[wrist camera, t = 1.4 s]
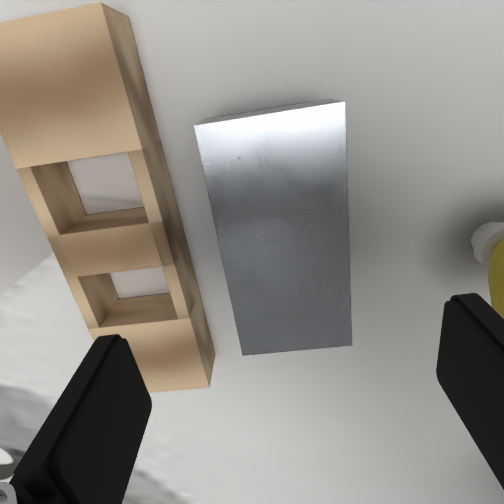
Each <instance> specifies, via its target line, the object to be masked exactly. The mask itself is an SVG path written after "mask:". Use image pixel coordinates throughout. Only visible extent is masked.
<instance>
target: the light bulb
mask: <svg viewBox="0 0 504 504" xmlns="http://www.w3.org/2000/svg"><path fill="white" fill-rule="evenodd" d="M471 245H472V248H473V249H474V255H475V258H476V259H477V260H478V261H479V262H480V263H481V264H482V265H484V266H485V267H486V268H487V269H489V275H488V282H489V289H490V296H491V303H492V306H493V309H494V310H495V311H496V312H497V313H498V314H499V315H500V316H501V317H502V318H503V319H504V222H495V221H492V222H487V223H485V224H483V225H481V226H479V227H478V228H477V229H476V230H475V231H474V233H473V234H472V237H471Z"/></svg>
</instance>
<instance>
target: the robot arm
mask: <svg viewBox="0 0 504 504" xmlns="http://www.w3.org/2000/svg"><path fill="white" fill-rule="evenodd" d="M436 373H437V378H438V381H439V383H440V385H441V387H442V388H443V390H444V392H445V393H446V395H447V397H448V398H449V400H450V402H451V403H452V405H453V407H454V408H455V410H456V411H457V413H458V415H459V416H460V418H461V420H462V421H463V423H464V425H465V426H466V428H467V430H468V431H469V433H470V435H471V436H472V438H473V440H474V441H475V443H476V445H477V446H478V448H479V450H480V451H481V453H482V454H483V456H484V458H485V459H486V461H487V463H488V464H489V466H490V468H491V469H492V471H493V473H494V474H495V476H496V478H497V479H498V481H499V483H500V484H501V486H502V488H503V489H504V319H503V318H502V317H501V316H500V315H499V314H498V313H497V312H496V311H495V310H494V309H493V308H492V307H491V306H490V305H489V304H488V303H487V302H486V301H485V300H484V299H483V298H482V297H480V296H479V295H478V294H476V293H469V294H461V295H454V296H452V297H451V299H450V301H447V302H446V303H445V305H444V312H443V320H442V328H441V336H440V344H439V352H438V360H437V368H436ZM151 408H152V401H151V397H150V395H149V392H148V390H147V388H146V385H145V383H144V380H143V378H142V375H141V373H140V370H139V368H138V365H137V363H136V360H135V358H134V356H133V353H132V351H131V348H130V346H129V343H128V341H127V339H125V338H122V337H121V336H120V335H119V334H112V335H104V336H99V337H97V338H96V340H95V341H94V343H93V345H92V346H91V348H90V349H89V351H88V353H87V354H86V356H85V357H84V359H83V361H82V362H81V364H80V366H79V367H78V369H77V370H76V372H75V374H74V375H73V377H72V378H71V380H70V382H69V383H68V385H67V387H66V388H65V390H64V391H63V393H62V395H61V396H60V398H59V399H58V401H57V403H56V404H55V406H54V408H53V409H52V411H51V412H50V414H49V416H48V417H47V419H46V420H45V422H44V424H43V425H42V427H41V429H40V430H39V432H38V433H37V435H36V437H35V438H34V440H33V441H32V443H31V445H30V446H29V448H28V450H27V451H26V453H25V454H24V456H23V458H22V459H21V461H20V462H19V464H18V466H17V467H16V469H15V471H14V473H15V474H14V476H13V477H12V479H11V481H10V482H9V483H7V482H0V504H122V501H123V498H124V495H125V492H126V489H127V485H128V482H129V479H130V476H131V473H132V470H133V466H134V463H135V460H136V457H137V454H138V451H139V448H140V444H141V441H142V438H143V435H144V432H145V429H146V426H147V422H148V419H149V416H150V413H151Z"/></svg>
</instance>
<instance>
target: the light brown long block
mask: <svg viewBox="0 0 504 504" xmlns="http://www.w3.org/2000/svg"><path fill="white" fill-rule="evenodd" d="M0 133H1V135H2V138H3V140H4V142H5V144H6V147H7V149H8V151H9V153H10V155H11V158H12V160H13V162H14V164H15V167H16V169H17V171H18V173H19V176H20V178H21V180H22V182H23V185H24V187H25V189H26V191H27V193H28V195H29V198H30V200H31V202H32V205H33V207H34V209H35V211H36V213H37V216H38V218H39V220H40V222H41V225H42V227H43V229H44V231H45V233H46V236H47V238H48V240H49V242H50V245H51V247H52V249H53V251H54V254H55V256H56V258H57V260H58V263H59V265H60V267H61V269H62V271H63V274H64V276H65V278H66V280H67V283H68V285H69V287H70V289H71V292H72V294H73V296H74V298H75V300H76V303H77V305H78V307H79V309H80V312H81V314H82V316H83V318H84V321H85V323H86V325H87V327H88V329H89V332H90V334H91V336H92V338H93V341H95V340H96V338H97V337H99V336H104V335H112V334H119V335H120V336H121V337H122V338H125V339H127V341H128V343H129V346H130V348H131V351H132V353H133V356H134V358H135V360H136V363H137V365H138V368H139V370H140V373H141V375H142V378H143V380H144V383H145V385H146V388H147V390H148V392H149V393H152V392H164V391H175V390H187V389H198V388H209V387H210V381H211V376H212V370H213V364H214V359H215V352H214V348H213V344H212V340H211V336H210V332H209V328H208V324H207V320H206V316H205V313H204V309H203V305H202V301H201V297H200V293H199V289H198V285H197V281H196V278H195V274H194V270H193V266H192V262H191V258H190V254H189V250H188V246H187V243H186V239H185V235H184V231H183V227H182V223H181V219H180V215H179V211H178V208H177V204H176V200H175V196H174V192H173V188H172V184H171V180H170V176H169V172H168V169H167V165H166V161H165V157H164V153H163V149H162V145H161V141H160V137H159V134H158V130H157V126H156V122H155V118H154V114H153V110H152V106H151V102H150V99H149V95H148V91H147V87H146V83H145V79H144V75H143V71H142V67H141V64H140V60H139V56H138V52H137V48H136V44H135V40H134V36H133V32H132V29H131V25H130V21H129V17H128V16H126V15H124V14H122V13H120V12H118V11H116V10H114V9H112V8H111V7H109V6H107V5H105V4H103V3H101V2H100V3H95V4H90V5H85V6H80V7H75V8H70V9H65V10H60V11H55V12H50V13H45V14H40V15H35V16H30V17H25V18H20V19H15V20H10V21H5V22H0ZM121 152H128V154H129V157H130V161H131V164H132V167H133V171H134V174H135V177H136V181H137V184H138V187H139V191H140V194H141V197H142V201H143V204H144V207H141V208H134V209H127V210H120V211H112V212H105V213H98V214H91V215H86V212H85V210H84V207H83V204H82V202H81V199H80V196H79V194H78V191H77V189H76V186H75V183H74V181H73V178H72V176H71V173H70V170H69V168H68V165H67V162H66V161H70V160H76V159H82V158H89V157H95V156H102V155H108V154H115V153H121ZM161 266H162V267H163V270H164V274H165V277H166V280H167V284H168V287H169V290H170V293H169V294H160V295H152V296H143V297H134V298H125V299H118V296H117V293H116V291H115V288H114V285H113V283H112V280H111V278H110V275H109V273H111V272H119V271H128V270H136V269H144V268H152V267H161Z"/></svg>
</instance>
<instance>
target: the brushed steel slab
mask: <svg viewBox="0 0 504 504" xmlns="http://www.w3.org/2000/svg"><path fill="white" fill-rule="evenodd" d="M194 128H195V133H196V138H197V143H198V147H199V152H200V157H201V161H202V166H203V171H204V176H205V180H206V185H207V190H208V194H209V199H210V204H211V209H212V213H213V218H214V223H215V227H216V232H217V237H218V242H219V246H220V251H221V256H222V260H223V265H224V270H225V275H226V279H227V284H228V289H229V294H230V298H231V303H232V308H233V312H234V317H235V322H236V327H237V331H238V336H239V341H240V345H241V350H242V355H243V356H244V355H255V354H266V353H276V352H287V351H297V350H308V349H318V348H329V347H340V346H350V345H352V324H351V290H350V256H349V222H348V188H347V154H346V120H345V102H344V101H339V100H334V99H325V100H319V101H313V102H307V103H301V104H294V105H288V106H282V107H276V108H270V109H263V110H257V111H251V112H245V113H239V114H232V115H226V116H220V117H214V118H207V119H205V120H203V121H201V122H200V123H198V124H196V125H194Z"/></svg>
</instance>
